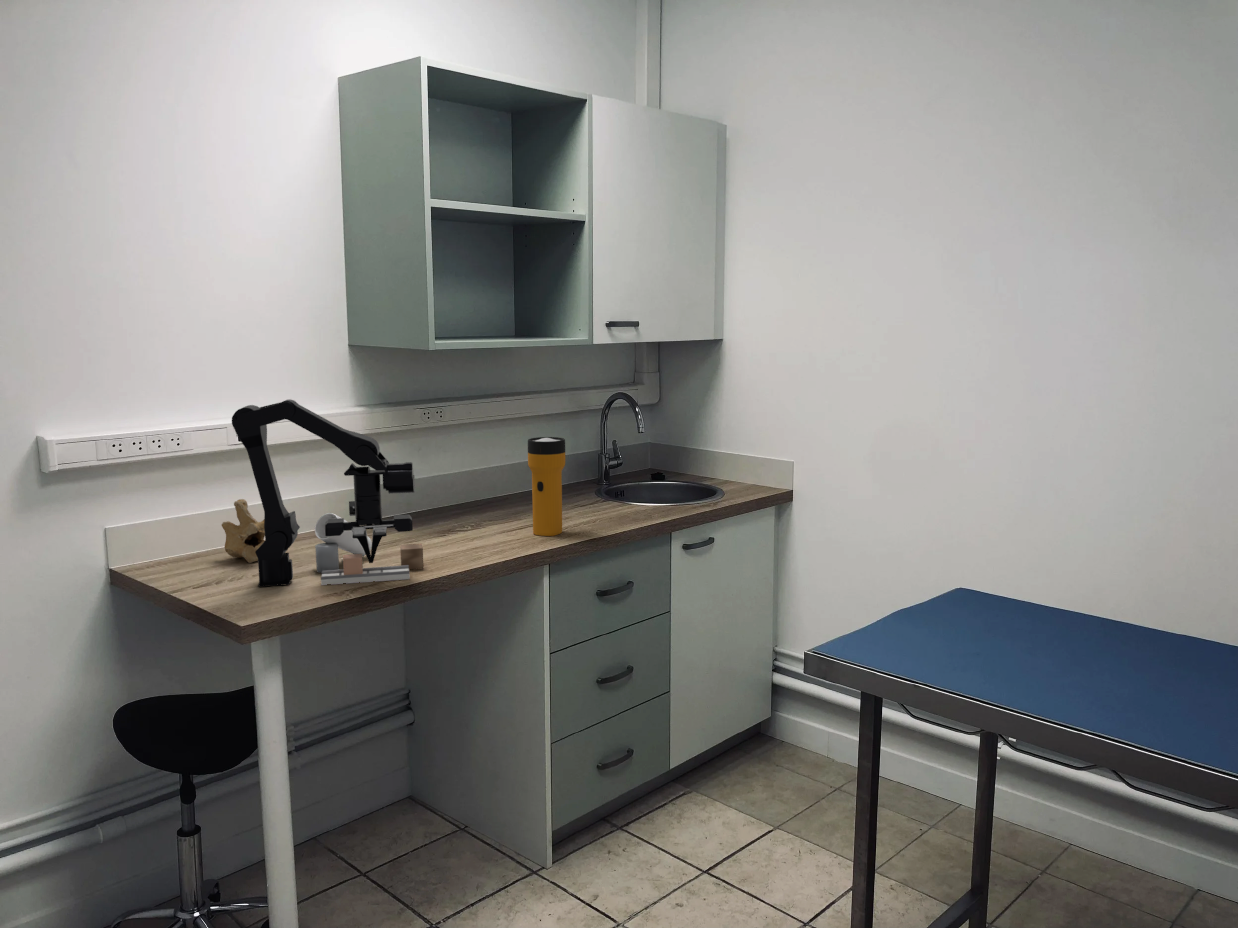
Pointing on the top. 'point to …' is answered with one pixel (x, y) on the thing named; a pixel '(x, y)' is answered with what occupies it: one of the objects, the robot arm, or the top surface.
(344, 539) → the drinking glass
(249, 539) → the vertebra
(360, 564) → the counter slider
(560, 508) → the flashlight
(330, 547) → the grey upright block
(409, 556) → the walnut block
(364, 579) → the counter rail
